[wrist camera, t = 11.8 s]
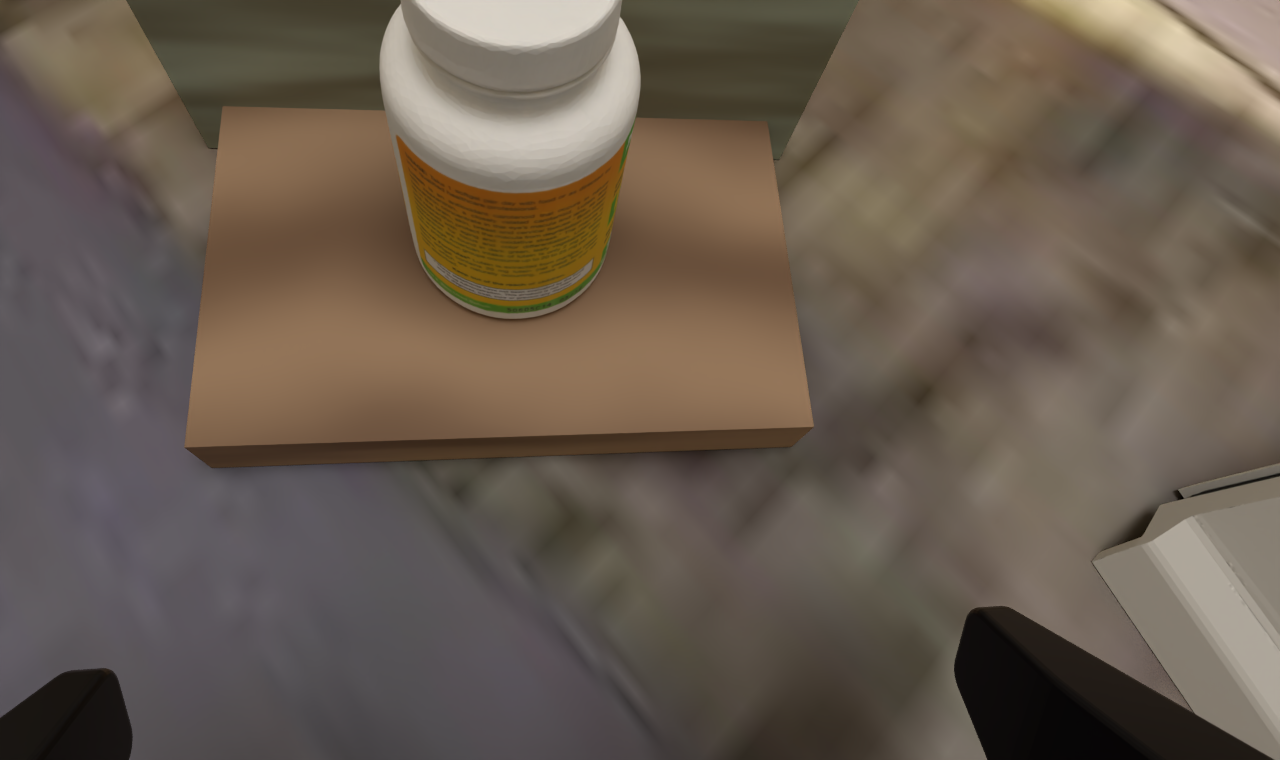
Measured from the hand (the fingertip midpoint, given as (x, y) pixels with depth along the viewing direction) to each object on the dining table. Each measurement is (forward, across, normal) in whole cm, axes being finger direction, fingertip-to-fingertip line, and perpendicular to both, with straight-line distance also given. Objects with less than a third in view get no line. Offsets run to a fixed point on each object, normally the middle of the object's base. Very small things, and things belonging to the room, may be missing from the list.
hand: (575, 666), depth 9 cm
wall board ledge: (+18, 0, +1) cm, 18 cm away
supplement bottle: (+17, 0, 0) cm, 17 cm away
